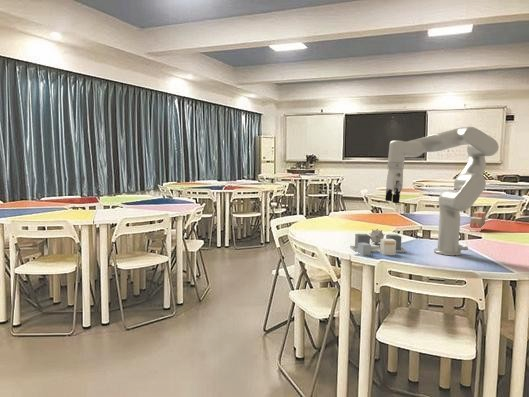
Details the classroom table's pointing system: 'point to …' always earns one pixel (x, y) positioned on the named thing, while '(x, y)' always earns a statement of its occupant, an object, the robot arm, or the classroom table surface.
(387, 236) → the rail
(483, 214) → the stack of blocks
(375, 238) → the grey spiky ball
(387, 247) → the block
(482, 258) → the classroom table surface
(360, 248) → the block
